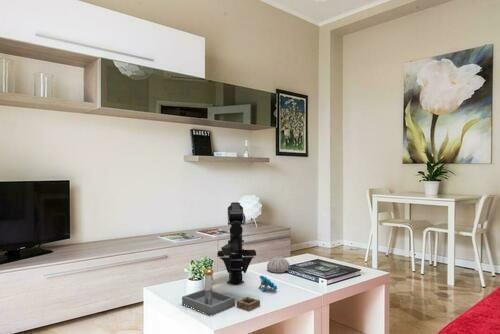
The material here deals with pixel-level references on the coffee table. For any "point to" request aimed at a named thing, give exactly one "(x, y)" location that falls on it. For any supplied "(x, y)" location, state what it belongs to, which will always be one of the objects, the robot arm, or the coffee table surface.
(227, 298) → the tray
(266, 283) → the blue irregular piece
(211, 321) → the coffee table surface
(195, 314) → the coffee table surface
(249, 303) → the socket block
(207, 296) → the grey tall cylinder
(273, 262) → the sea urchin shell
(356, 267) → the coffee table surface
